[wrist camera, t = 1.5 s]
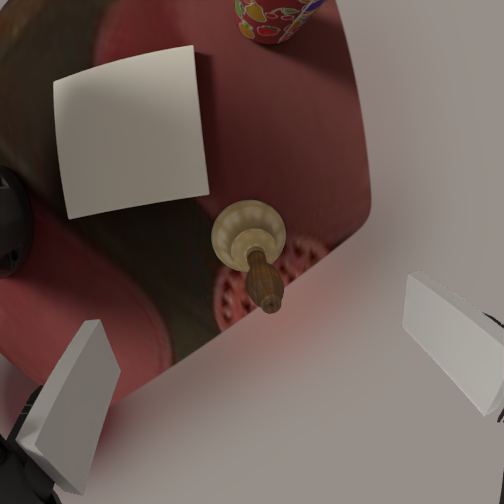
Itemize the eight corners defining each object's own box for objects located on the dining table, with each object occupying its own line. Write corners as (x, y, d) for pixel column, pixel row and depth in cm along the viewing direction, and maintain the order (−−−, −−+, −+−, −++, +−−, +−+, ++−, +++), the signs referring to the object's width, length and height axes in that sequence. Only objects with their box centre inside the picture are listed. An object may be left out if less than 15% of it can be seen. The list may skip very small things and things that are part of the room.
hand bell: (247, 285, 36) (269, 374, 20) (195, 236, 33) (180, 305, 18) (300, 236, 34) (360, 299, 19) (250, 183, 32) (281, 209, 17)
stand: (75, 215, 30) (68, 219, 29) (61, 85, 25) (53, 82, 23) (209, 192, 32) (209, 194, 30) (194, 51, 26) (193, 45, 25)
